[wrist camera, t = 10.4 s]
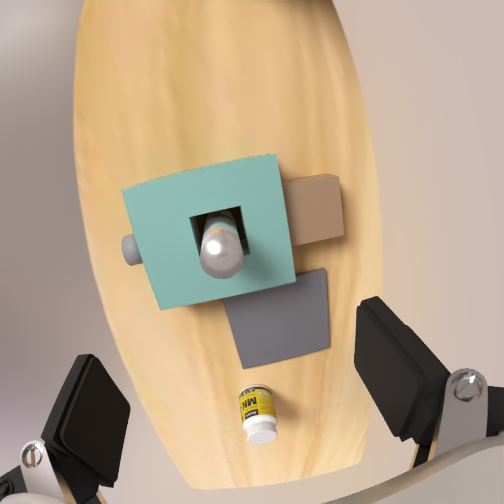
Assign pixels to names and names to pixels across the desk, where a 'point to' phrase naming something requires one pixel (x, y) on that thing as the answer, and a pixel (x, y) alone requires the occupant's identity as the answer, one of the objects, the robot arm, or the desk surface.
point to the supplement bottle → (258, 414)
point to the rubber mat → (280, 320)
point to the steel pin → (221, 246)
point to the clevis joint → (253, 219)
